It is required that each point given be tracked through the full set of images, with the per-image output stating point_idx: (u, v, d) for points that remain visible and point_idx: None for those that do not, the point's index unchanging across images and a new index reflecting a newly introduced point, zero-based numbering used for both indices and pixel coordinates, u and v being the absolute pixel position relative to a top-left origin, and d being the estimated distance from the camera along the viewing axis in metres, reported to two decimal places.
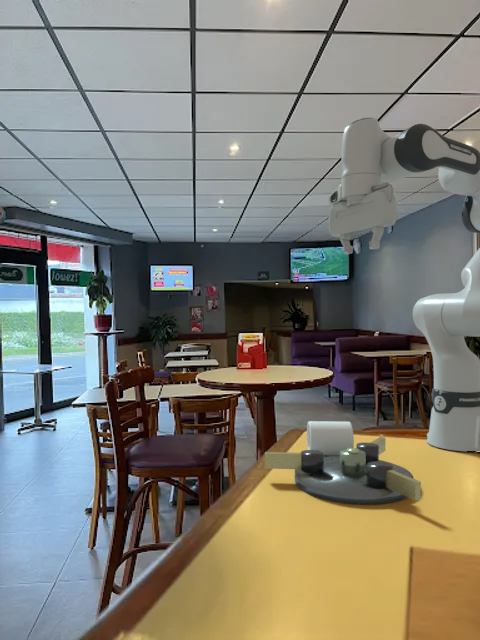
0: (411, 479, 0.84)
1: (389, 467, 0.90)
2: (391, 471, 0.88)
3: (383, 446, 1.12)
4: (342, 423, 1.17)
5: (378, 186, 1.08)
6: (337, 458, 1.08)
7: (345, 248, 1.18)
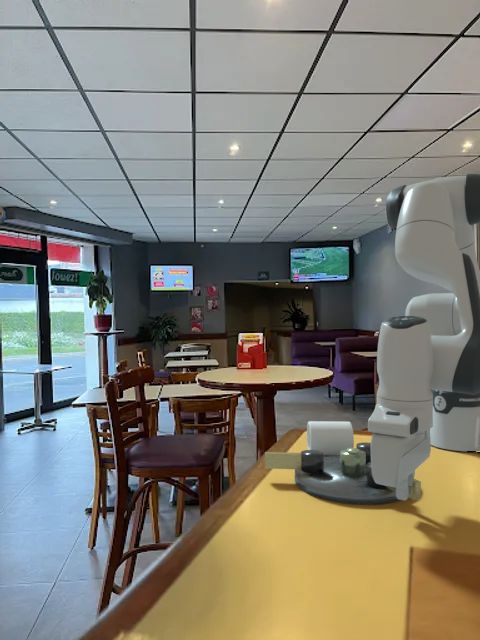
0: None
1: None
2: None
3: None
4: (342, 423, 1.17)
5: None
6: (337, 458, 1.08)
7: (408, 492, 0.81)
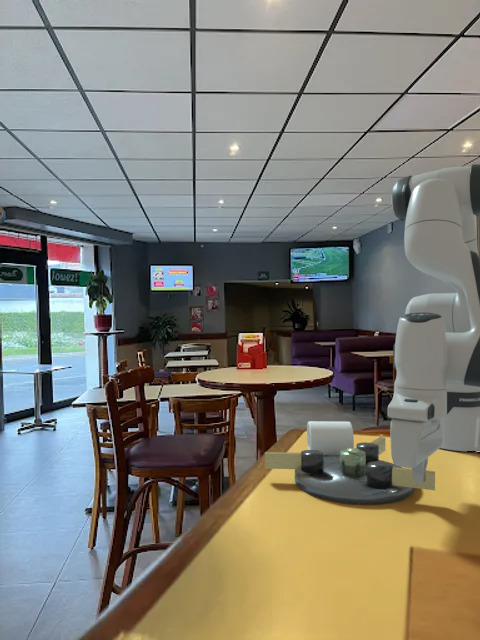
0: (426, 471, 0.88)
1: (390, 465, 0.91)
2: (398, 468, 0.90)
3: (383, 446, 1.12)
4: (342, 423, 1.17)
5: None
6: (337, 458, 1.08)
7: (424, 476, 0.87)
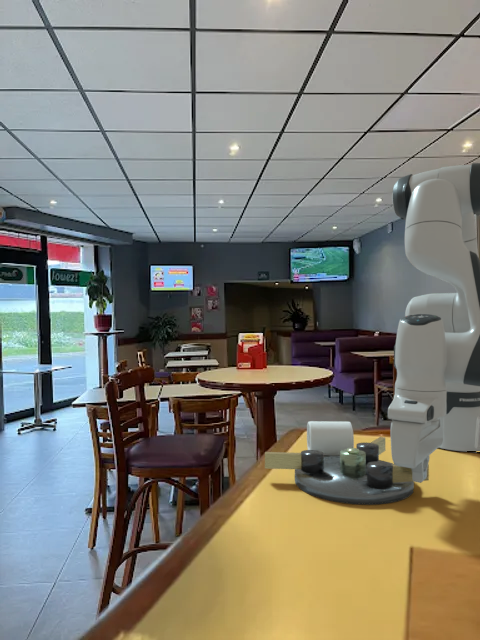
0: None
1: (387, 463, 0.92)
2: None
3: (383, 446, 1.12)
4: (342, 423, 1.17)
5: None
6: (337, 458, 1.08)
7: (423, 475, 0.89)
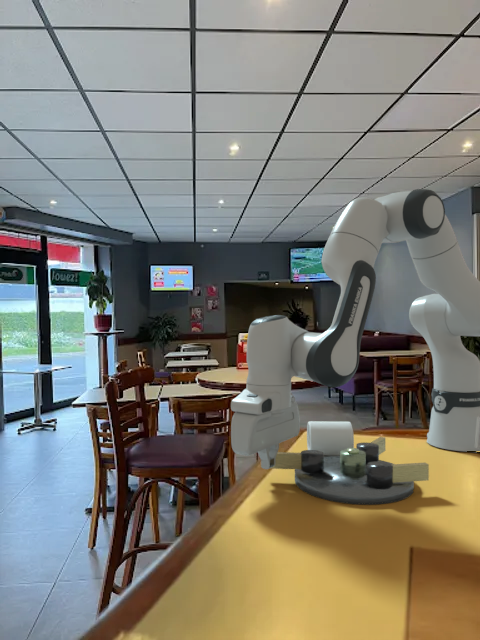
0: (419, 463, 0.93)
1: (387, 463, 0.92)
2: (396, 465, 0.92)
3: (383, 446, 1.12)
4: (342, 423, 1.17)
5: None
6: (337, 458, 1.08)
7: (270, 462, 0.97)
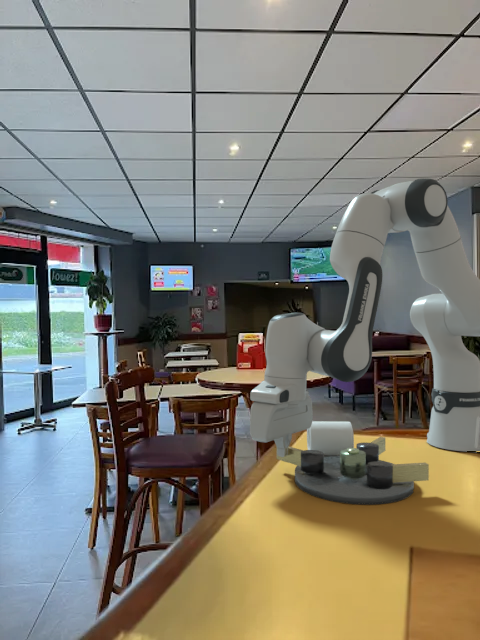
0: (419, 463, 0.93)
1: (387, 463, 0.92)
2: (396, 465, 0.92)
3: (383, 446, 1.12)
4: (342, 423, 1.17)
5: None
6: (337, 458, 1.08)
7: (286, 450, 1.03)
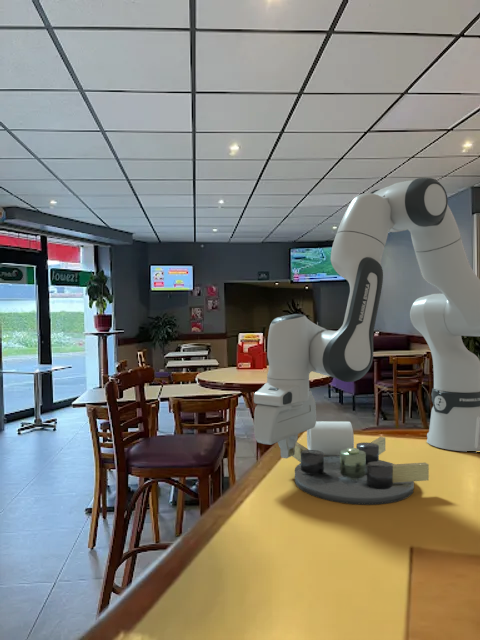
0: (419, 463, 0.93)
1: (387, 463, 0.92)
2: (396, 465, 0.92)
3: (383, 446, 1.12)
4: (342, 423, 1.17)
5: None
6: (337, 458, 1.08)
7: (289, 452, 1.04)
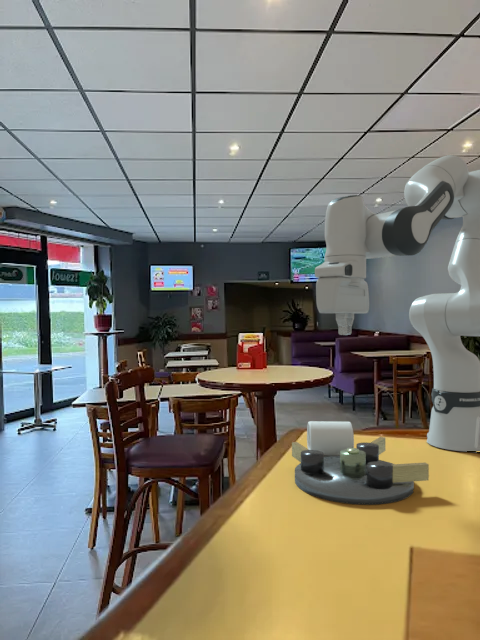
0: (419, 463, 0.93)
1: (387, 463, 0.92)
2: (396, 465, 0.92)
3: (383, 446, 1.12)
4: (342, 423, 1.17)
5: None
6: (337, 458, 1.08)
7: (347, 329, 1.06)
